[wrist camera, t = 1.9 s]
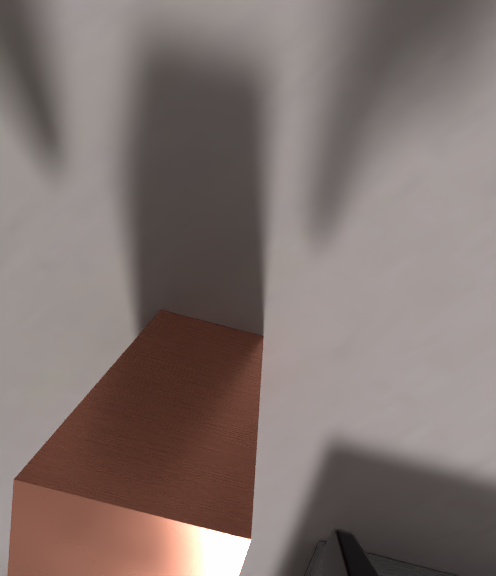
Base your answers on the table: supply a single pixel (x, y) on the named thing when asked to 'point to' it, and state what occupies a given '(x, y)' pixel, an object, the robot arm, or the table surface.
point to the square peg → (149, 463)
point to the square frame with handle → (375, 566)
